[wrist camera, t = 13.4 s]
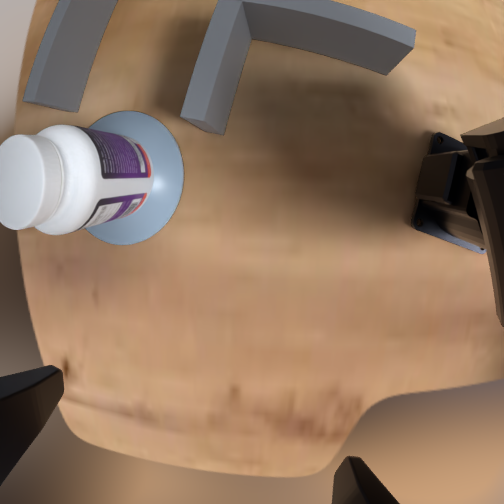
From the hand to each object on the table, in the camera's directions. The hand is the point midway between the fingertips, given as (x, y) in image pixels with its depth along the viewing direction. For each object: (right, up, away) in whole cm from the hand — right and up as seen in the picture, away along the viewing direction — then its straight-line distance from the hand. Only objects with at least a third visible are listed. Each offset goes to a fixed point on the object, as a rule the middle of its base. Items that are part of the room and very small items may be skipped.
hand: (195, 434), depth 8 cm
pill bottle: (-7, +10, +12) cm, 17 cm away
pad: (-7, +10, +12) cm, 17 cm away
